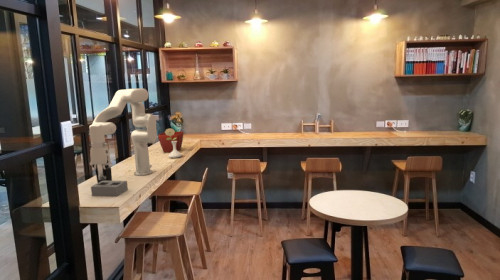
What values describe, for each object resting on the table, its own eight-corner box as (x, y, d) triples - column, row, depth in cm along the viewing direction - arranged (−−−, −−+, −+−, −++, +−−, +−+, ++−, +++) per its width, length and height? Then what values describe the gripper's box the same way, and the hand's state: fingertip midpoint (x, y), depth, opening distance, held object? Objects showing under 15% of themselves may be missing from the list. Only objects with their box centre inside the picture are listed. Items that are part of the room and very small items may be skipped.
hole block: (103, 189, 210) (102, 180, 209) (127, 189, 207) (126, 180, 206) (91, 195, 198) (90, 186, 197) (117, 196, 196) (116, 187, 195)
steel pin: (101, 177, 204) (99, 160, 202) (107, 178, 203) (105, 160, 201) (97, 179, 200) (95, 161, 198) (103, 180, 200) (101, 161, 198)
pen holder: (108, 180, 228) (106, 166, 226) (115, 182, 222) (113, 168, 220) (94, 184, 221) (92, 169, 219) (101, 186, 215) (99, 171, 213)
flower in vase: (183, 155, 294) (181, 127, 289) (179, 158, 283) (177, 129, 278) (169, 155, 295) (166, 127, 291) (164, 159, 284) (162, 129, 280)
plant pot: (165, 149, 325) (163, 131, 322) (184, 148, 324) (183, 131, 321) (159, 153, 306) (157, 135, 303) (180, 153, 305) (178, 134, 302)
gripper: (115, 143, 200) (118, 173, 204) (89, 144, 203) (93, 173, 206) (108, 146, 193) (111, 177, 196) (81, 146, 196) (85, 177, 199)
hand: (102, 175), depth 201 cm, fingers closed on steel pin, 4 cm apart
